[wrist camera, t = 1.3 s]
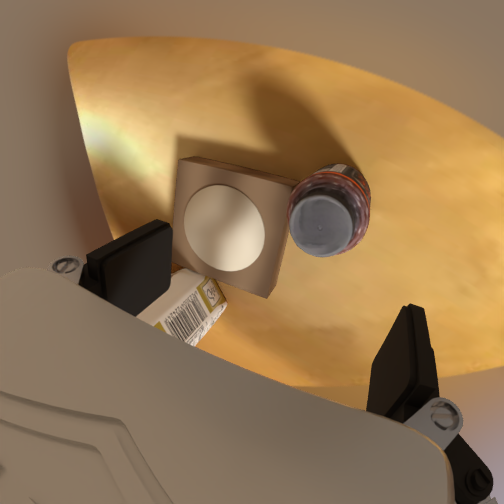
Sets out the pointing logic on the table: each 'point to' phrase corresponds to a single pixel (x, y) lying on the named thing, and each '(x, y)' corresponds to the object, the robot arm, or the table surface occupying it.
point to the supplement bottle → (329, 211)
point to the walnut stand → (231, 223)
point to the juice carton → (186, 306)
